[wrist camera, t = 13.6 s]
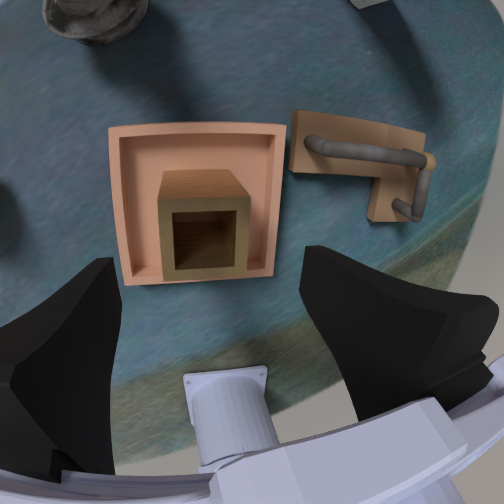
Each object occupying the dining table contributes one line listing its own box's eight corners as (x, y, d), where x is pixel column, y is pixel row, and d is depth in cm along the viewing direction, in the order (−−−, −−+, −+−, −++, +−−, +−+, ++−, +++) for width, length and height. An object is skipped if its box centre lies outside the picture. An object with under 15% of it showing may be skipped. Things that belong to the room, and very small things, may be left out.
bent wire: (402, 217, 23) (434, 237, 20) (283, 218, 21) (306, 244, 17) (417, 131, 20) (454, 141, 16) (292, 109, 18) (321, 112, 14)
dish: (265, 263, 22) (272, 275, 21) (128, 271, 20) (124, 285, 18) (276, 123, 18) (286, 125, 16) (115, 125, 15) (108, 127, 14)
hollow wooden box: (226, 228, 20) (246, 276, 15) (165, 231, 19) (163, 281, 14) (228, 168, 18) (251, 196, 13) (163, 170, 17) (157, 199, 12)
